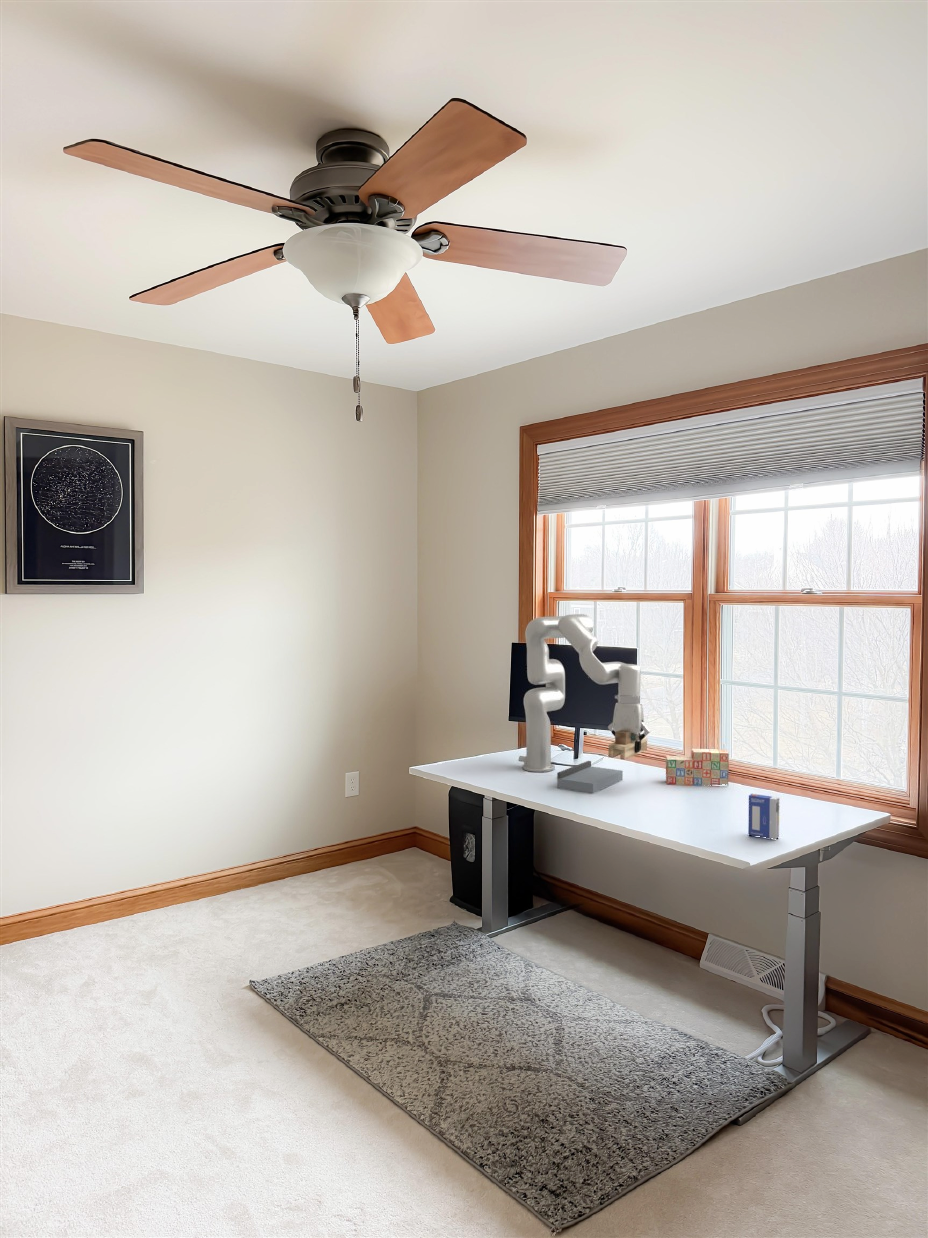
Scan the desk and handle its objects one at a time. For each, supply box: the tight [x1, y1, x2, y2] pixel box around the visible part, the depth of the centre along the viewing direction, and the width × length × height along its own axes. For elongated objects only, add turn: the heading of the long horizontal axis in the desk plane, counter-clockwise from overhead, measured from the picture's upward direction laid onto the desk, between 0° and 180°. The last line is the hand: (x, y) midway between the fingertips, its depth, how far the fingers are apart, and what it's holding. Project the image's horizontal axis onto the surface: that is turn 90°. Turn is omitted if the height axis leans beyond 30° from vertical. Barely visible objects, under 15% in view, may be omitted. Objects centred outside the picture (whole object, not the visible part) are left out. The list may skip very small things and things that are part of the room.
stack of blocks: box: [665, 748, 730, 787], centre depth 299 cm, size 21×6×12 cm, turn 80°
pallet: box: [608, 737, 648, 760], centre depth 291 cm, size 6×19×4 cm, turn 145°
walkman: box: [747, 793, 780, 839], centre depth 236 cm, size 8×3×12 cm, turn 55°
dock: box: [556, 760, 624, 795], centre depth 300 cm, size 14×24×6 cm, turn 145°
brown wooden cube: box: [614, 730, 631, 745], centre depth 287 cm, size 4×4×4 cm
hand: (628, 750), depth 291 cm, fingers closed on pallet, 6 cm apart
